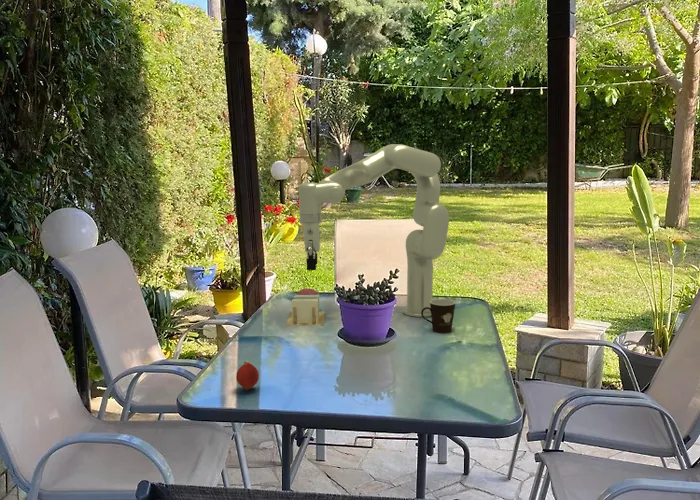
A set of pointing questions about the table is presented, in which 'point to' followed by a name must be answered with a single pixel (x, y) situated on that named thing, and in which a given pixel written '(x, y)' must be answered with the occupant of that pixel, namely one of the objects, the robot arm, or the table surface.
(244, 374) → the onion
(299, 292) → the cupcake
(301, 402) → the table surface
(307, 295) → the plate
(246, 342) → the table surface
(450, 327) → the coffee mug
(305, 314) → the cream rectangular slab
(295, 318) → the dish rack
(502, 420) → the table surface
